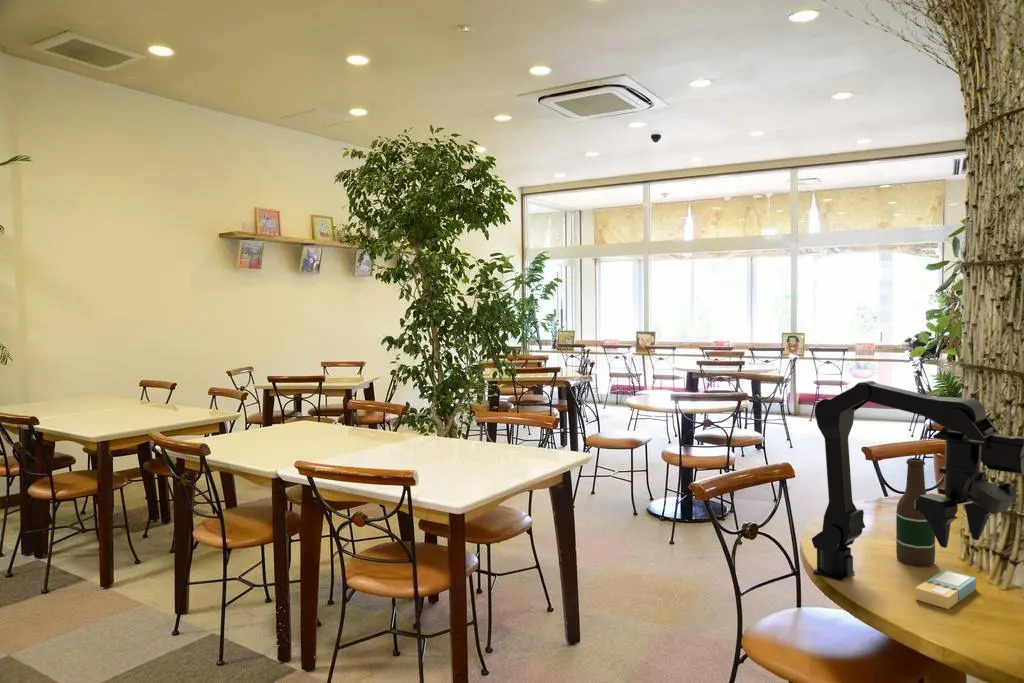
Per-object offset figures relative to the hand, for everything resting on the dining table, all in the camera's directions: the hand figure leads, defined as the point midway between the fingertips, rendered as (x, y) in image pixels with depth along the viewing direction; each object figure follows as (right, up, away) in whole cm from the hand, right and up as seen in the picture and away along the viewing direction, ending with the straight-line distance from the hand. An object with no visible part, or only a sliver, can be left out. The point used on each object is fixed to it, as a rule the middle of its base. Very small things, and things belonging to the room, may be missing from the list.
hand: (959, 543), depth 134 cm
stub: (-1, -13, +5) cm, 14 cm away
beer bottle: (+6, -12, +26) cm, 29 cm away
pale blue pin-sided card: (+4, -13, +10) cm, 16 cm away
